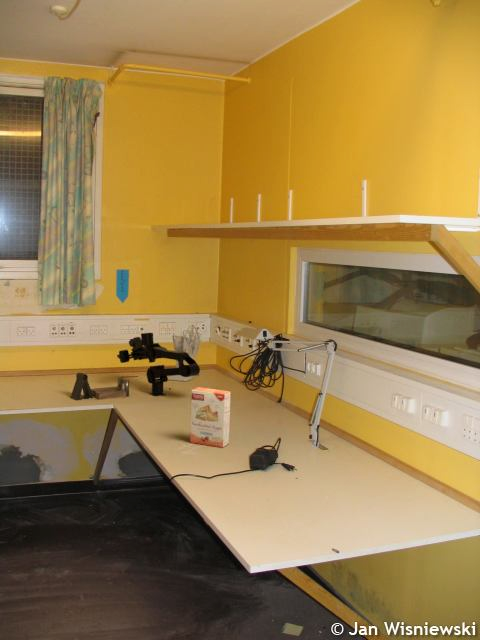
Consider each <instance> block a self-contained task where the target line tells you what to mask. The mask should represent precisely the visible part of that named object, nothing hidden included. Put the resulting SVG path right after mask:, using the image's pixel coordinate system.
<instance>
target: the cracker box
mask: <svg viewBox="0 0 480 640" xmlns="http://www.w3.org/2000/svg"><path fill="white" fill-rule="evenodd" d="M190 400H191V404H190V407H191V408H190V443H193V444H199V445H204V446H209V447H210V446H211V447H217V448H222V449H224V448H225V447H227V446H228V445H229V444H230V428H231V427H230V426H231V424H230V422H231V420H230V419H231V391H229V390H221V389H215V388H214V389H213V388H208V387H198V386H197V387H195V388H193V389H191V399H190Z"/></svg>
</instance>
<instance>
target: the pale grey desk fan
mask: <svg viewBox="0 0 480 640" xmlns="http://www.w3.org/2000/svg"><path fill="white" fill-rule="evenodd" d="M192 327H193V328H194V329H195V332H193V330H192V329H191V328H192ZM182 334H183V335H175V334H173V335H172V343H173V350H174V351H178V352H187V353H188V355H189V356H190V357H191V358H192V359H194V360H195V361H196V358H197V356H198V354H199V352H200V347H201V343H202V339H200V338H201V332H199V331H198V329H197V327H196V326H195V325H190V326H189V327H188V328H187V329H184V330H183V331H182ZM188 334H189V336H187V335H188ZM175 362H176V367H175V368H177V367H179V362H178V360H175ZM183 363H184V364H186V365H189V364H188V363H187V362H186V361H185V360H183ZM200 375H201V373H199V375H198V376H200ZM167 377H168V380H169V381H178V382H188V381H191V380H193V379H195V376H191V377H183V376H181V375H173V376H167ZM168 380H167V381H168Z"/></svg>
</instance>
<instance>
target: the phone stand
mask: <svg viewBox="0 0 480 640" xmlns="http://www.w3.org/2000/svg"><path fill="white" fill-rule="evenodd" d="M75 376H76V378H75V379H76V380H75V382H74V385H73V388H72V391H71V394H70V399H73V400H75V401H82V399H84V400H90V399H89V398H91V399H93V398H94V397H93V395H92V392H91V389H92V388H91V386H90V384H89V380H88V378H89V377H88V374H86V373H83V372H76V374H75ZM82 392H83V395H82Z"/></svg>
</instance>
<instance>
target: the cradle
mask: <svg viewBox="0 0 480 640" xmlns="http://www.w3.org/2000/svg"><path fill="white" fill-rule="evenodd" d="M90 389H91V392H92V395H93V398H95V399H96V400H99V399H100V400H107V399H108V398H110V399H118V398H120V399H121V398H126V397H130V379H127V378H126V379H124V377H123V376H117V386H108V387H99V388H98V387H95V388H90ZM108 400H109V399H108Z"/></svg>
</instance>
